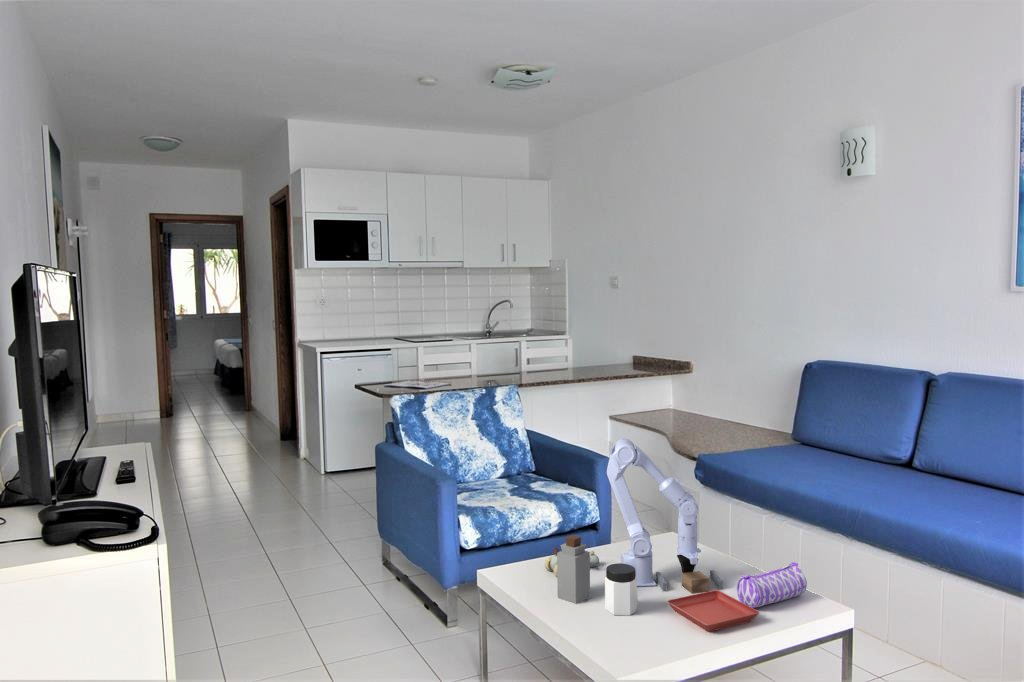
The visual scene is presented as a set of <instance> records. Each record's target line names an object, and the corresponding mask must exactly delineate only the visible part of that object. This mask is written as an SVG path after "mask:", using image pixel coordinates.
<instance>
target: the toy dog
mask: <svg viewBox="0 0 1024 682" xmlns="http://www.w3.org/2000/svg"><path fill="white" fill-rule="evenodd" d="M553 549H554V555H553V556H549V557H547V558H546V560H545V561H544V568H545V570H546V571H548V572H551V573H553V574H554V576H555V577H556V578H557V553H558V552H560V551H559V549H558V547H557V546H554V548H553ZM589 552H590V567H591V568H594V567H595V566H596V567H597V566H599V564H600V558H599V556H598V555H597V554H595V551H594V550H590V551H589Z"/></svg>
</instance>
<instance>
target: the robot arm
mask: <svg viewBox="0 0 1024 682" xmlns="http://www.w3.org/2000/svg"><path fill="white" fill-rule="evenodd" d="M631 464H632V466H634V467H639V468H642V469H643V470H644V471H645V472H646V473H647V474H648V475H649V476H650V477H651V478H652V479H654V481H656V483H657V484H658V485H659V487H658V488H659V489H658V490H659V492H660V493H661V494H662V495H663V496H664V497H665V498H666V499H667V501H669V502H670V503H671V505H673V506H675V507H676V508H677V509H678V519H677V550H676V551H677V553H678V554H677V555H676V557H677V559H678V562H679V564H680V568H681V574H682V573H688V572H695V569H696V565H698V564H699V558H698V554H701V553H702V549H700V548H698V521H697V519H698V517H697V516H698V515H699V511H700V509H699V505H698V503H697V501H696V499H695V498H694V496H693V495H692V494H691V493H690V492H689V491H687V490H686V489H685V488H684V487H683V486H682V485H681V481H680V480H679V479H678V478H674V477H669V476H666V474H665V473H664V472H663V471H662V470H661V469H660V468H659V466H657V465H656V464H655V462H654V461H653V460H652V459H651V458H650V457H649V456H648V455H647V454H646V452H644V451H643V450H642V449H641V448H640V447H639V446H638V445H636V444H634V443H633V441H632V440H631V439H630V438H626V437H625V438H620V439H617V440H616V442H615V443H614V445H613V446H612V448H611V451H610V455H609V460H608V463H607V469H606V475H607V478H608V481H609V484H610V487H611V489H612V491H613V494H614V496H615V499H616V502H617V505H618V507H619V509H620V512H621V516H622V518H623V520H624V523H625V526H626V528H627V532H628V536H629V541H630V542H629V543H630V548H629V549H628V552H626V553H622V554H621V556H620V563H621V564H628V565H631V566H633V567H634V568H635V572H636V576H635V577H636V578H637V587H652V586H654V587H656V586H657V582H655V581H656V580H654V578H653V551H652V548H653V545H652V542H651V536H650V533H649V531H648V530H647V529H645V527H644V526H643V523H642V520H641V518H640V516H639V513H638V511H637V508H636V506H635V503H634V501H633V498H632V495H631V492H630V490H629V487H628V484H627V482H626V479H625V476H624V473H625V472H626V470H627V468H628V467H630V465H631Z"/></svg>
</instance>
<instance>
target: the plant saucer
mask: <svg viewBox="0 0 1024 682" xmlns="http://www.w3.org/2000/svg"><path fill="white" fill-rule="evenodd" d="M666 602H667V604H668V605H669V607H670V608H671V609H672V611H674V612H675V613H676V612H677V615H679V616H681V617H683V618H685V619H686V620H687V621H690V622H691V623H692V624H694V625H696V626H697V627H699V628H701V629H703V630H704V631H706V632H713V631H714V632H715V631H717V630H721V629H726V628H729V627H733V626H737V625H742V624H746V622H747V623H749V622H752V621H753V620H754V619H755V618H756V617H757V616H758V615H759V614H760V611H759V610H758V609H755V608H752V607H750V606H748V605H746V604H744V603H742V602H741V601H740V600H738V599H736V598H734V597H732V596H730V595H728V594H726V593H725V592H723V591H721V590H720V589H713V590H710V591H708V592H700V593H694V594H691V595H686V596H682V597H677V598H672V599H668V600H667V601H666Z"/></svg>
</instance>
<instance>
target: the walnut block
mask: <svg viewBox="0 0 1024 682" xmlns="http://www.w3.org/2000/svg"><path fill="white" fill-rule="evenodd" d="M710 583H711V579H710V576H707V575H706V574H704V573H703V572H702V571H700V570H698V571H693V572H688V573H682V572H681V587H682V586H683V587H684V588H683V587H682V588H683V589H684V590H686V591H687V592H689V594H691V595H694V594H699V593H704V592H707V591H711V589H710V585H711V584H710Z"/></svg>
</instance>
